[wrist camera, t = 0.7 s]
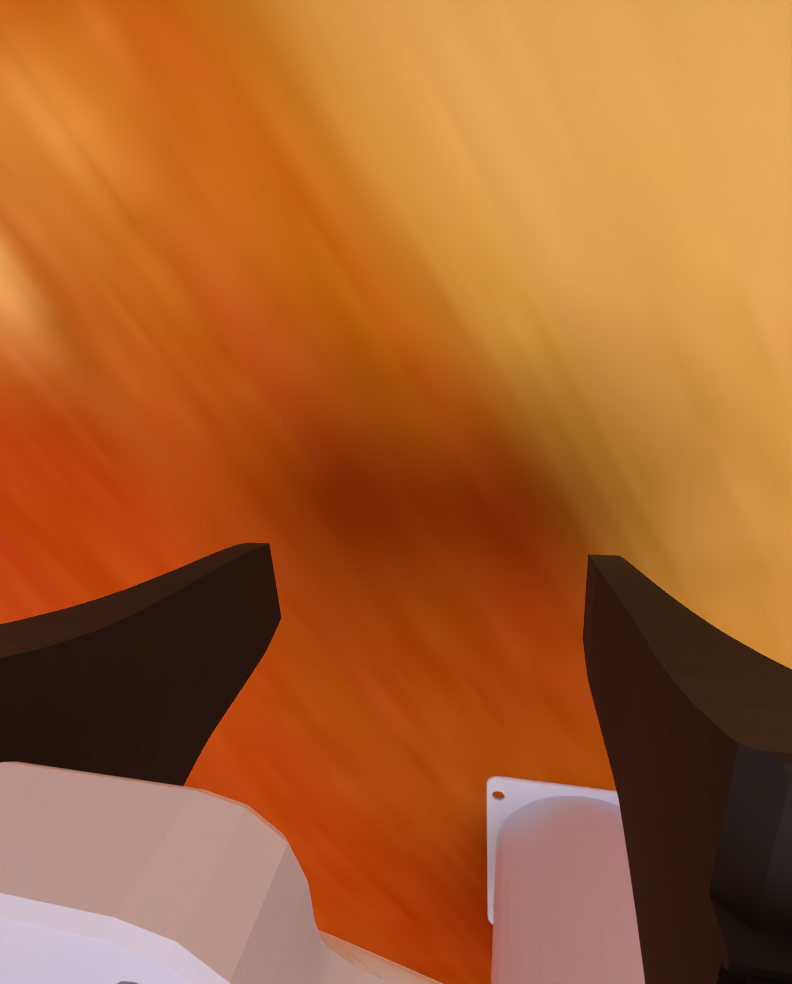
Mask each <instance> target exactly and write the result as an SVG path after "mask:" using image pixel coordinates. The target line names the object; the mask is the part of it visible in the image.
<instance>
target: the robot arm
mask: <svg viewBox="0 0 792 984" xmlns="http://www.w3.org/2000/svg"><path fill="white" fill-rule="evenodd" d="M280 619H281V613H280V607H279V601H278V594H277V588H276V582H275V576H274V570H273V564H272V557H271V551H270V545H269V543H243V544H239V545H236V546H232V547H230V548H227V549H224V550H221V551H219V552H216V553H214V554H211V555H209V556H207V557H204V558H202V559H199V560H197V561H195V562H192V563H190V564H188V565H185V566H183V567H181V568H178V569H176V570H174V571H171V572H169V573H166V574H164V575H161V576H159V577H156V578H154V579H151V580H148V581H146V582H143V583H141V584H138V585H136V586H133V587H131V588H128V589H126V590H123V591H120V592H117V593H114V594H111V595H108V596H105V597H103V598H99V599H96V600H93V601H90V602H87V603H83V604H80V605H77V606H73V607H70V608H66V609H63V610H59V611H55V612H50V613H46V614H42V615H38V616H34V617H30V618H26V619H22V620H18V621H14V622H9V623H4V624H0V984H443V983H441V982H438V981H436V980H434V979H432V978H429V977H427V976H425V975H422V974H420V973H418V972H415V971H413V970H411V969H409V968H406V967H404V966H402V965H399V964H397V963H395V962H393V961H390V960H388V959H386V958H383V957H381V956H379V955H376V954H374V953H372V952H370V951H367V950H365V949H363V948H360V947H358V946H356V945H353V944H351V943H349V942H347V941H344V940H342V939H340V938H337V937H335V936H333V935H330V934H328V933H325V932H323V931H320V930H318V928H317V926H316V923H315V919H314V914H313V908H312V902H311V897H310V891H309V885H308V881H307V879H306V877H305V875H304V873H303V871H302V869H301V867H300V865H299V863H298V861H297V859H296V857H295V855H294V853H293V851H292V849H291V847H290V845H289V843H288V841H287V839H286V837H285V835H284V834H283V833H281V832H280V831H279V830H278V829H276V828H275V827H274V826H273V825H272V824H270V823H269V822H268V821H267V820H265V819H264V818H263V817H262V816H260V815H259V814H258V813H257V812H256V811H254V810H253V809H252V808H251V807H249V806H248V805H246V804H244V803H241V802H238V801H235V800H232V799H229V798H226V797H224V796H221V795H218V794H215V793H212V792H209V791H206V790H204V789H198V788H192V787H185V786H183V785H184V783H185V782H186V780H187V778H188V776H189V774H190V772H191V770H192V768H193V766H194V764H195V762H196V761H197V759H198V757H199V755H200V753H201V751H202V749H203V747H204V746H205V744H206V742H207V741H208V739H209V738H210V736H211V734H212V733H213V731H214V729H215V728H216V726H217V725H218V723H219V722H220V720H221V719H222V717H223V716H224V714H225V713H226V711H227V710H228V708H229V707H230V705H231V704H232V702H233V701H234V699H235V698H236V696H237V695H238V693H239V692H240V690H241V689H242V687H243V686H244V684H245V683H246V681H247V680H248V678H249V677H250V675H251V674H252V672H253V671H254V669H255V668H256V666H257V665H258V663H259V662H260V660H261V658H262V657H263V655H264V654H265V652H266V650H267V648H268V646H269V644H270V642H271V640H272V637H273V635H274V633H275V631H276V628H277V626H278V624H279V622H280ZM583 643H584V652H585V660H586V668H587V676H588V681H589V685H590V689H591V693H592V697H593V701H594V705H595V709H596V712H597V716H598V720H599V724H600V728H601V731H602V735H603V739H604V743H605V746H606V750H607V754H608V758H609V762H610V765H611V769H612V773H613V777H614V781H615V786H616V790H617V791H615V790H607V789H599V788H591V787H583V786H575V785H567V784H559V783H551V782H543V781H535V780H527V779H519V778H512V777H504V776H493V777H490V778H489V779H488V780H487V895H488V920H489V921H490V922H491V924H493V944H492V972H491V984H792V669H790V668H787V667H785V666H783V665H781V664H779V663H777V662H775V661H773V660H772V659H770V658H768V657H766V656H764V655H762V654H760V653H758V652H757V651H755V650H753V649H751V648H750V647H748V646H746V645H744V644H742V643H741V642H739V641H737V640H735V639H734V638H732V637H730V636H728V635H727V634H725V633H724V632H722V631H720V630H719V629H717V628H716V627H714V626H713V625H711V624H710V623H708V622H707V621H705V620H704V619H702V618H701V617H699V616H698V615H696V614H695V613H693V612H692V611H690V610H689V609H688V608H686V607H685V606H683V605H682V604H681V603H679V602H678V601H677V600H675V599H674V598H673V597H671V596H670V595H669V594H667V593H666V592H665V591H664V590H662V589H661V588H660V587H658V586H657V585H656V584H655V583H653V582H652V581H651V580H650V579H648V578H647V577H646V576H645V575H644V574H642V573H641V572H640V571H639V570H637V569H636V568H635V567H634V566H633V565H631V564H630V563H629V562H628V561H626V560H625V559H624V558H622V557H621V556H614V555H588V568H587V583H586V598H585V613H584V628H583ZM495 791H499V792H502V793H503V794H504V797H503V798H497V797H495V796H493V792H495ZM493 903H494V905H493Z"/></svg>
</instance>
